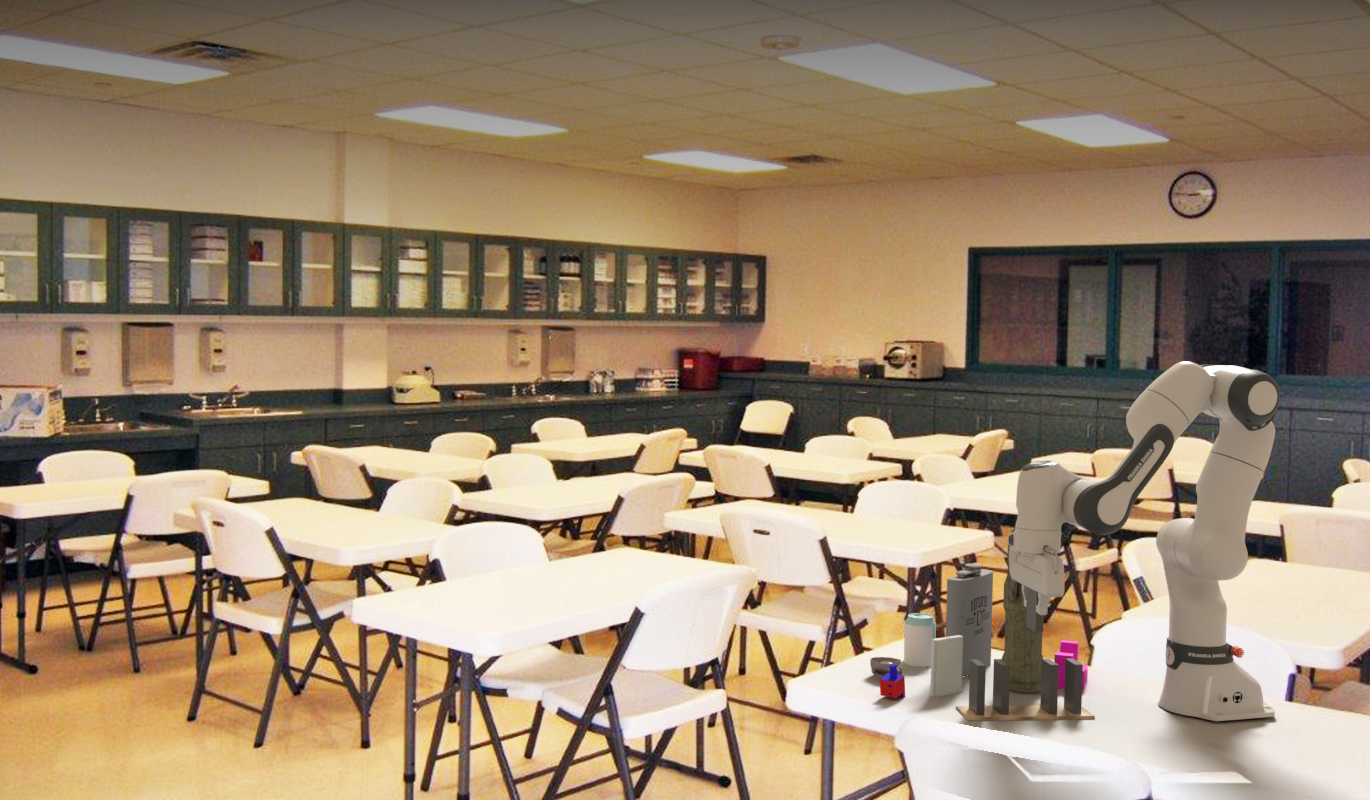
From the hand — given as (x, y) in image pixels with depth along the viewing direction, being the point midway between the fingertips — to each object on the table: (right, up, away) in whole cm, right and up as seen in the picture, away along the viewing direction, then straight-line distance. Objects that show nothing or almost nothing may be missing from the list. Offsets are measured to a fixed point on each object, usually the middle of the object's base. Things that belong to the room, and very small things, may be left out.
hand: (1035, 611), depth 259 cm
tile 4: (+4, -21, +3) cm, 21 cm away
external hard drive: (-15, -21, +16) cm, 30 cm away
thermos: (+3, -21, +22) cm, 30 cm away
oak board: (-1, -21, +3) cm, 22 cm away
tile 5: (+9, -21, +4) cm, 23 cm away
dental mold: (-26, -20, +26) cm, 42 cm away
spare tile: (0, -4, 0) cm, 4 cm away
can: (-16, -20, +40) cm, 47 cm away
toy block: (+16, -21, +29) cm, 39 cm away
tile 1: (-11, -21, +2) cm, 24 cm away
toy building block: (-26, -21, +12) cm, 36 cm away
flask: (-5, -20, +35) cm, 40 cm away
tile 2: (-6, -21, +3) cm, 22 cm away
